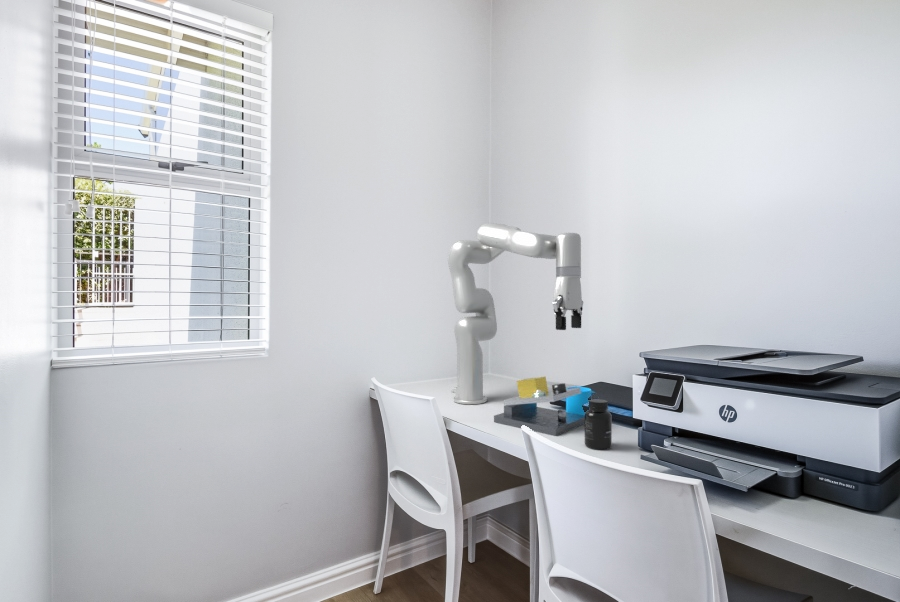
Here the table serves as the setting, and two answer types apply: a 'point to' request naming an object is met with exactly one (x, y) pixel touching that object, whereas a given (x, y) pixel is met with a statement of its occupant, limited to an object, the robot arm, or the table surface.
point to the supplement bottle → (598, 425)
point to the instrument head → (540, 392)
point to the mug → (578, 401)
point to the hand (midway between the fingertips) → (568, 328)
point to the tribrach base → (539, 418)
